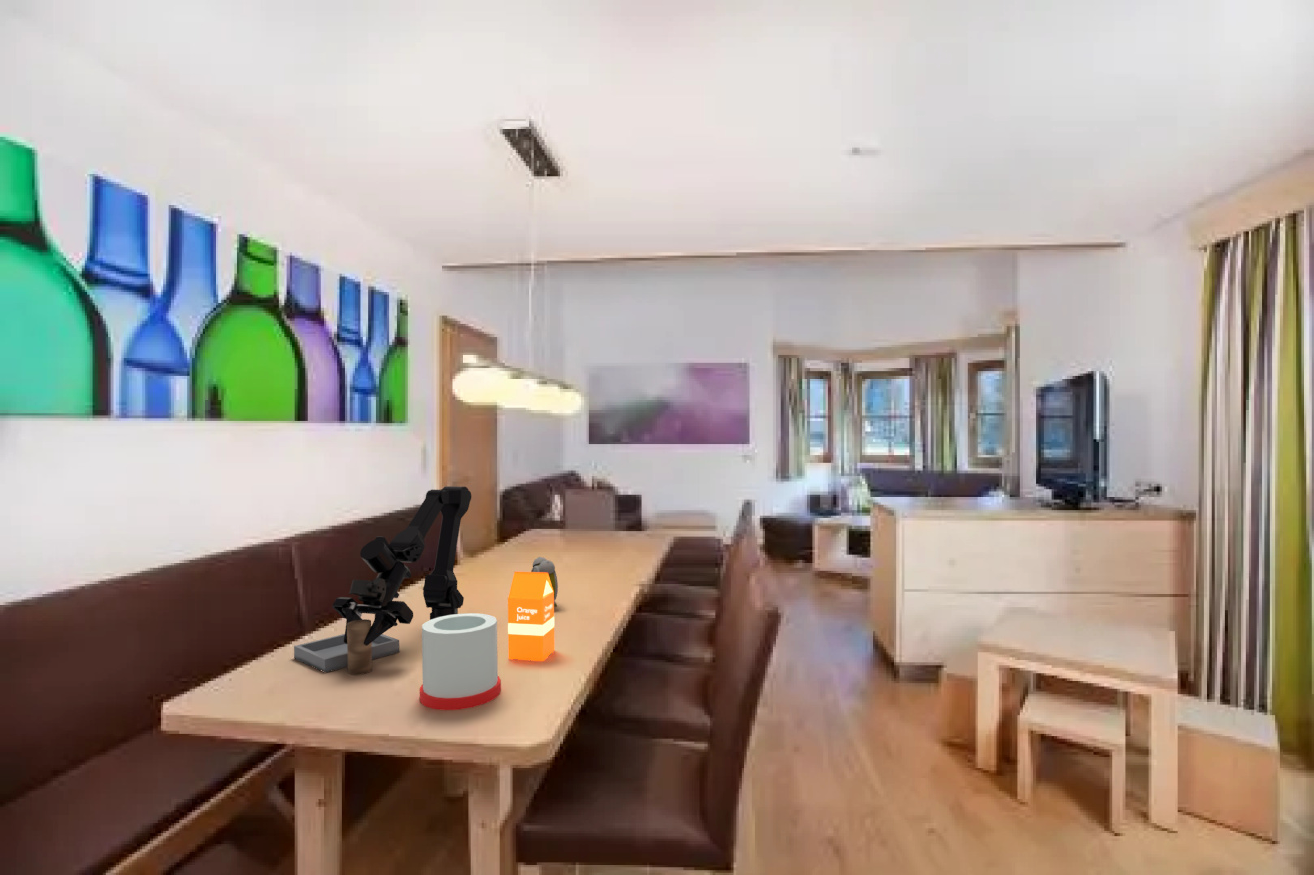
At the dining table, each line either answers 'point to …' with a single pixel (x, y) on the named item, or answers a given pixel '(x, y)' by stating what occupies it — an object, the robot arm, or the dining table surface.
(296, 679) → the dining table surface
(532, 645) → the orange juice
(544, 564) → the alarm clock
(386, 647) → the tray
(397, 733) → the dining table surface
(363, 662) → the brown upright cylinder
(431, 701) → the container
